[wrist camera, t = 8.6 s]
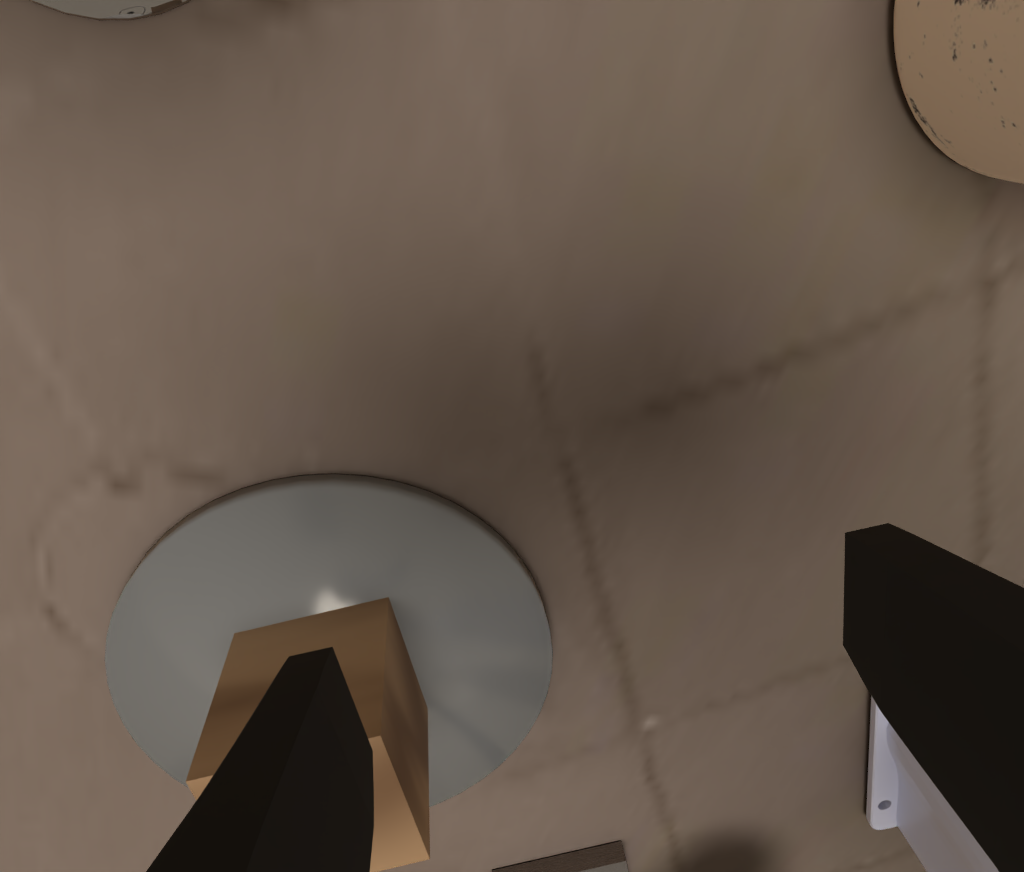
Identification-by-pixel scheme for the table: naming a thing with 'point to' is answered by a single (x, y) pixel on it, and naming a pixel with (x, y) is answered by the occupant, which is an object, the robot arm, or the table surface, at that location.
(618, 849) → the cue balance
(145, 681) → the slate dish
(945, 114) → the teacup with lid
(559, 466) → the table surface
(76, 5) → the wine glass
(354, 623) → the walnut block
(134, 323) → the table surface
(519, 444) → the table surface
